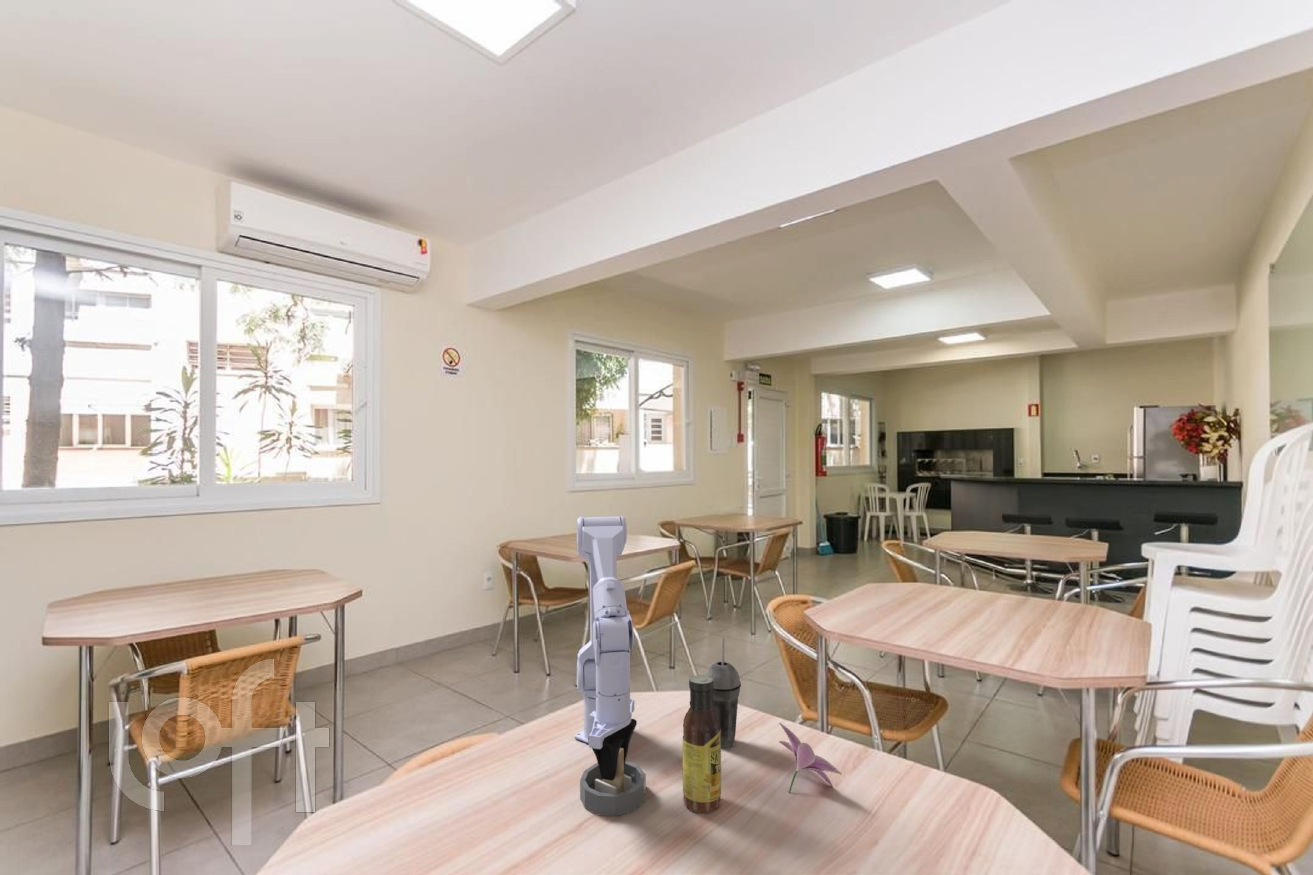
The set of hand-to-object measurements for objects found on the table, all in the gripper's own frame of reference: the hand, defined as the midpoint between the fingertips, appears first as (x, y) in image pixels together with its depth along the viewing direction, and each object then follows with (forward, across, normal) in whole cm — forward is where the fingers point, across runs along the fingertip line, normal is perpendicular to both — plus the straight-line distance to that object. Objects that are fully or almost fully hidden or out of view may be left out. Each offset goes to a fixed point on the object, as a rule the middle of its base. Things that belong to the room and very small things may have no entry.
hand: (613, 771), depth 97 cm
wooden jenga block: (+3, 0, 0) cm, 3 cm away
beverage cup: (+4, -23, +13) cm, 27 cm away
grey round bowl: (+4, 0, 0) cm, 4 cm away
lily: (+4, -14, +30) cm, 33 cm away
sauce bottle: (+4, -3, +14) cm, 15 cm away
